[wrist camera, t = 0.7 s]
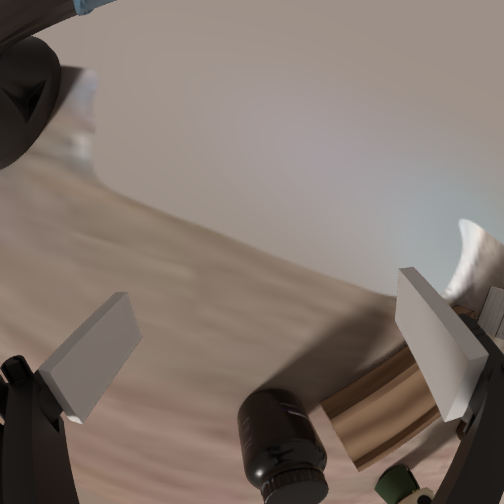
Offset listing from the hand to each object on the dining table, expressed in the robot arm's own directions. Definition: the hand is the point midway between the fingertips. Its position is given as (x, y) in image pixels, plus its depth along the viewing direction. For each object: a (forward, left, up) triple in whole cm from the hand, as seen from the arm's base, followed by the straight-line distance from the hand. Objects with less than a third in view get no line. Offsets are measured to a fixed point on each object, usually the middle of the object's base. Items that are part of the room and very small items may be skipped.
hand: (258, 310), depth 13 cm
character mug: (+41, +5, -12) cm, 43 cm away
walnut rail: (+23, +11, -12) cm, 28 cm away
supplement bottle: (+15, -4, -12) cm, 20 cm away
